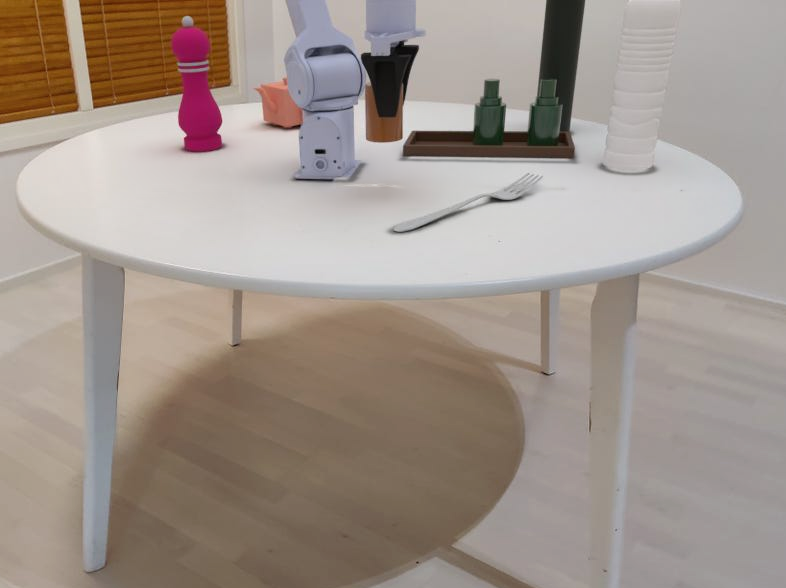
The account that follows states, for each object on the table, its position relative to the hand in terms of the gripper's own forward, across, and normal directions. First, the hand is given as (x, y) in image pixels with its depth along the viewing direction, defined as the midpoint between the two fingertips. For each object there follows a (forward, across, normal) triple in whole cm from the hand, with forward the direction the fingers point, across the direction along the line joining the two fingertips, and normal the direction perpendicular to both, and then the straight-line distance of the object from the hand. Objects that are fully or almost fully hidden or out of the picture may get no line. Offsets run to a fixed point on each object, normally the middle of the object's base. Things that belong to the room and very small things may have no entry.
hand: (390, 112), depth 87 cm
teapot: (+10, +43, +26) cm, 51 cm away
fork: (+10, -5, -10) cm, 16 cm away
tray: (+10, +23, -11) cm, 28 cm away
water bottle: (+10, +16, -31) cm, 37 cm away
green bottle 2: (+10, +23, -19) cm, 32 cm away
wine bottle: (+10, +37, -21) cm, 44 cm away
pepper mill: (+10, +24, +36) cm, 44 cm away
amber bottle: (+3, 0, +1) cm, 3 cm away
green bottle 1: (+10, +23, -11) cm, 27 cm away
